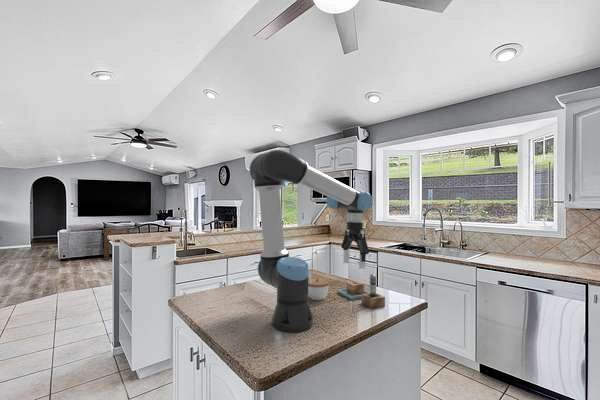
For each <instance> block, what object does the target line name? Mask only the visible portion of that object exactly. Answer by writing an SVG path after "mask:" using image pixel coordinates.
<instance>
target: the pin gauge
mask: <svg viewBox="0 0 600 400" xmlns="http://www.w3.org/2000/svg"><path fill="white" fill-rule="evenodd" d="M369 275H370V277H369V284H370V285H369V286H370V288H369V292H370V296H371V297H376V293H377V274H373V273H372V274H371V273H370V274H369Z"/></svg>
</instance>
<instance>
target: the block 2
mask: <svg viewBox="0 0 600 400" xmlns="http://www.w3.org/2000/svg"><path fill="white" fill-rule="evenodd" d="M361 304H363V305H365V306H366V307H368V308H369V309H377V308H382V307H385V306H386V297H385V296H384V295H381V294H379V293H377V292H376V297H371V296H370V293H366V294H362V299H361Z"/></svg>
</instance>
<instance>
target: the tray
mask: <svg viewBox="0 0 600 400" xmlns="http://www.w3.org/2000/svg"><path fill="white" fill-rule="evenodd" d="M337 293H338V294H339V295H341V296H343V297H344V298H346V299H348V300H349V301H354V300H356V301H357V300H362V295H356V296H352V295H351V294H349V293H347V287H346V288H339V289H337ZM366 293H370V291H367V290H366V289H364V294H366Z"/></svg>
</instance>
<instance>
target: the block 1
mask: <svg viewBox="0 0 600 400" xmlns="http://www.w3.org/2000/svg"><path fill="white" fill-rule="evenodd" d="M346 288H347V293H349V294H351V295H352V296H356V295H362V294H364V290H365V283H363V282H360V281H358V280H354V281H346Z"/></svg>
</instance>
